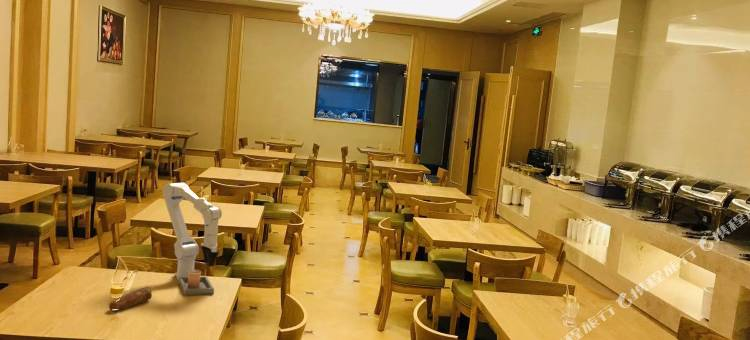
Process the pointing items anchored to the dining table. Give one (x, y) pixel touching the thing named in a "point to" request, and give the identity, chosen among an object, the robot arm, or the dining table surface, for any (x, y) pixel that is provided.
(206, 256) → the robot arm
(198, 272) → the cup
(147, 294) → the bread
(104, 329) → the dining table surface
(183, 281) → the serving tray
